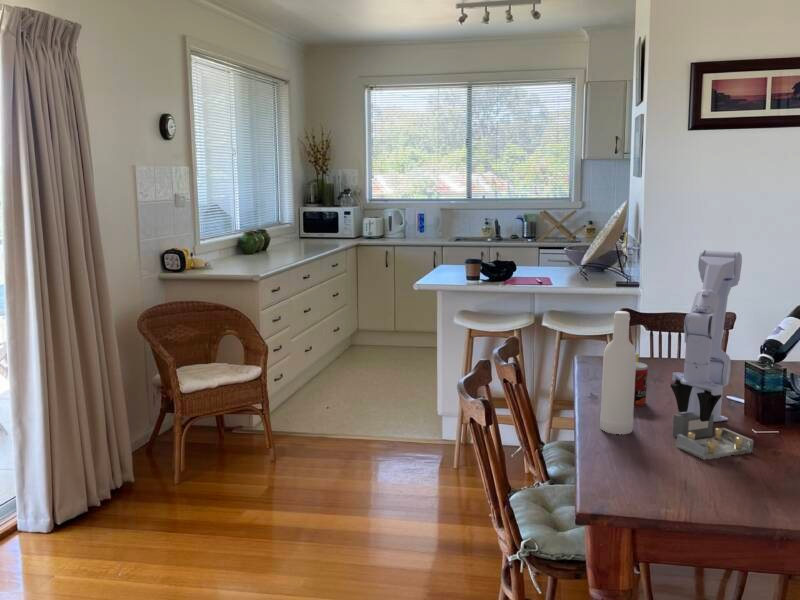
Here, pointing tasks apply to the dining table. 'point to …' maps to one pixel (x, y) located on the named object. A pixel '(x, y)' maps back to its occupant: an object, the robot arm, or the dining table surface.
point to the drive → (692, 425)
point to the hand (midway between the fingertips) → (693, 416)
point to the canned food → (640, 384)
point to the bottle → (618, 379)
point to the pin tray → (715, 444)
